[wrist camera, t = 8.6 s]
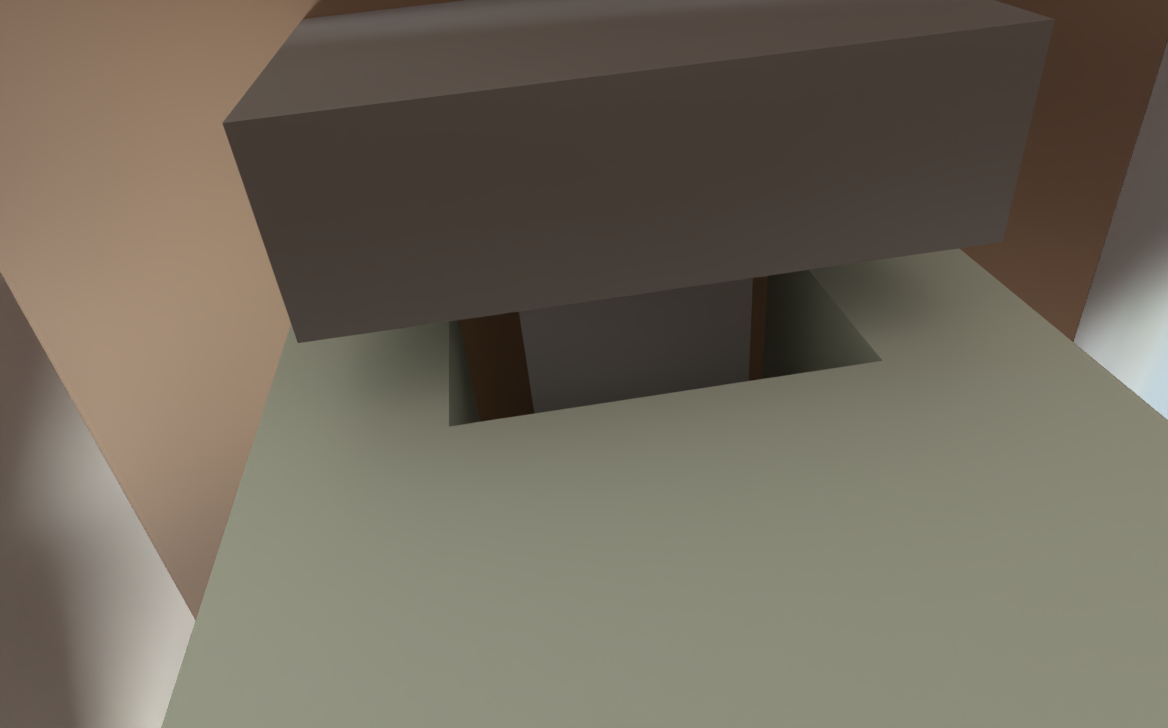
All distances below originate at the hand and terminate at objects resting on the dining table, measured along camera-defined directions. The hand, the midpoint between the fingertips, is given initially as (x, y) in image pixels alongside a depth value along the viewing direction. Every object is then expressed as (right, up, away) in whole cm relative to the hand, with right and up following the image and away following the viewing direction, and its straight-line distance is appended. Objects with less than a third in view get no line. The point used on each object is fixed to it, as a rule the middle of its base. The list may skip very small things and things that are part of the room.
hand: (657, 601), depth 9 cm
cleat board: (0, +1, +4) cm, 4 cm away
